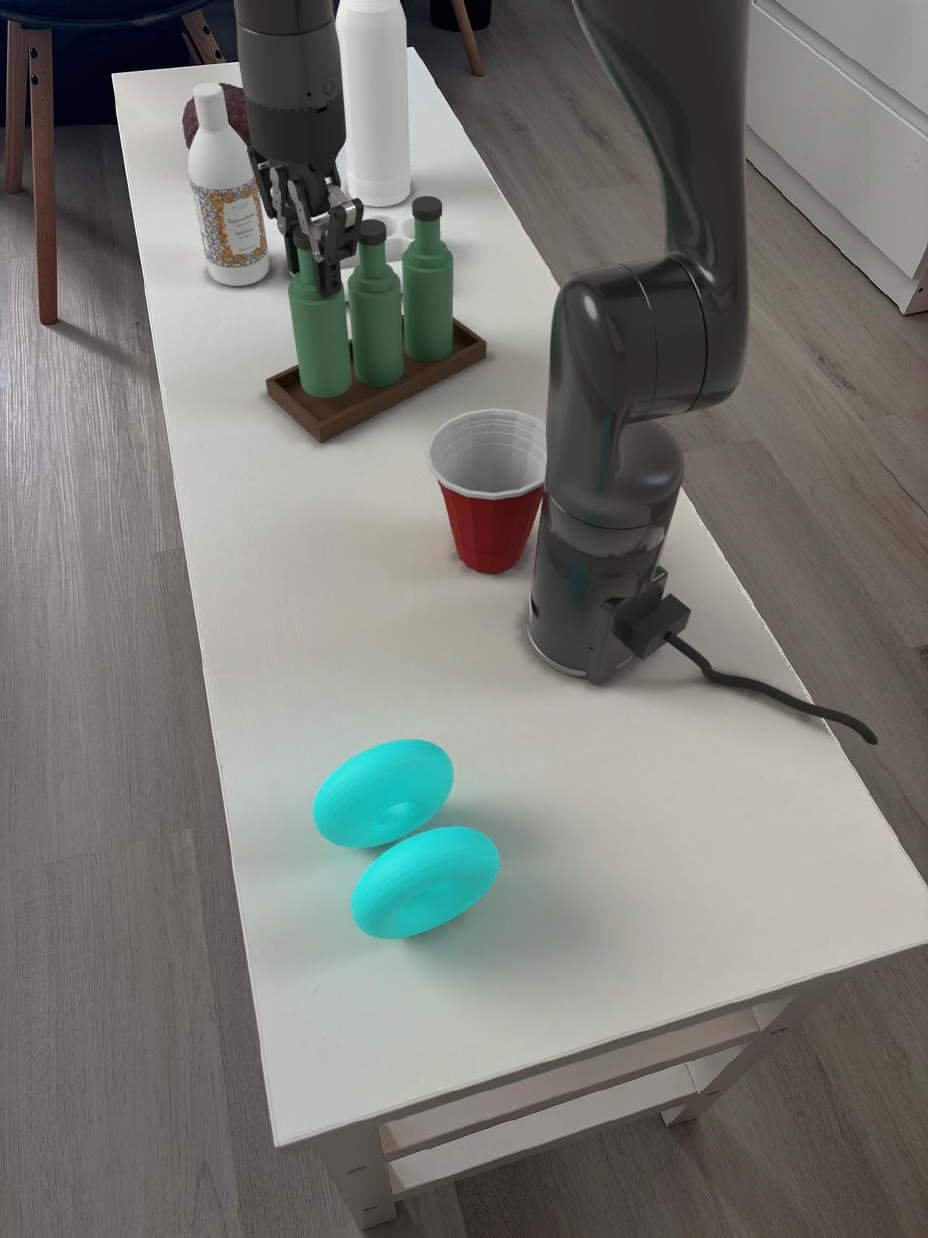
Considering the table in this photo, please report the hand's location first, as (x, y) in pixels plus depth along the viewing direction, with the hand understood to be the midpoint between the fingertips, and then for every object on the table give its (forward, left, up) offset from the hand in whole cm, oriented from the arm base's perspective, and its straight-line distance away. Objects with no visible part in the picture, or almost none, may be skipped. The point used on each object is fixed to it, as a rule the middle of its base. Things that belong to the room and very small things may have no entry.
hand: (315, 280), depth 87 cm
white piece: (+16, -17, -14) cm, 27 cm away
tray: (0, -6, -14) cm, 15 cm away
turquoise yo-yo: (-44, +25, -14) cm, 52 cm away
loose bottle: (0, 0, -11) cm, 11 cm away
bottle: (+29, -28, -14) cm, 43 cm away
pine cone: (+48, -18, -14) cm, 53 cm away
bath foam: (+25, -5, -14) cm, 29 cm away
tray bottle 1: (0, -6, -13) cm, 15 cm away
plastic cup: (-25, +1, -14) cm, 29 cm away
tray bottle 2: (0, -13, -13) cm, 18 cm away
